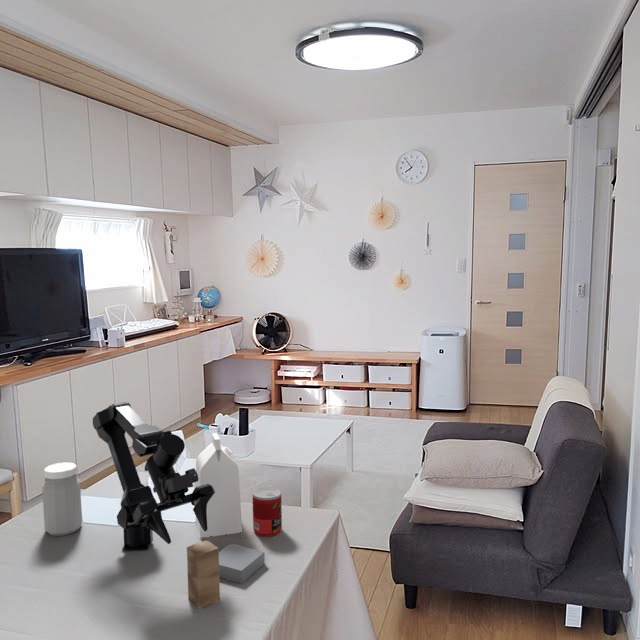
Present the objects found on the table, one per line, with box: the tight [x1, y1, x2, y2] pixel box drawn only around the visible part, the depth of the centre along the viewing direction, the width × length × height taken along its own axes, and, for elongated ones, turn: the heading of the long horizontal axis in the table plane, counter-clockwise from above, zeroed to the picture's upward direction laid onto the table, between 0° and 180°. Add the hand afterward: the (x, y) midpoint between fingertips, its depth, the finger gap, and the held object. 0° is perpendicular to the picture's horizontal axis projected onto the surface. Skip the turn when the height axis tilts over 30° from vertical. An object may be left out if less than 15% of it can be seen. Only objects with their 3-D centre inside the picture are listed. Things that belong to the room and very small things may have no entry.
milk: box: [195, 432, 243, 539], centre depth 170 cm, size 12×12×26 cm
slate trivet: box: [219, 543, 266, 584], centre depth 148 cm, size 10×10×3 cm
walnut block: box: [186, 539, 221, 609], centre depth 134 cm, size 5×5×12 cm
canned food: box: [252, 487, 283, 538], centre depth 168 cm, size 8×8×11 cm
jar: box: [41, 461, 83, 537], centre depth 169 cm, size 10×10×18 cm
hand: (188, 536), depth 138 cm, fingers open, 9 cm apart
